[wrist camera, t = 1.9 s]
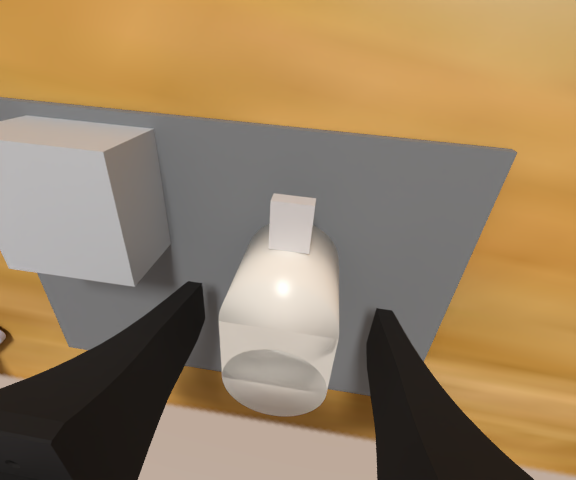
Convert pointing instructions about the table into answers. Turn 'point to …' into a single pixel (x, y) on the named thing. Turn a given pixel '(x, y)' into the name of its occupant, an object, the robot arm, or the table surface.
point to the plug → (282, 314)
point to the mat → (328, 217)
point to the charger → (81, 199)
